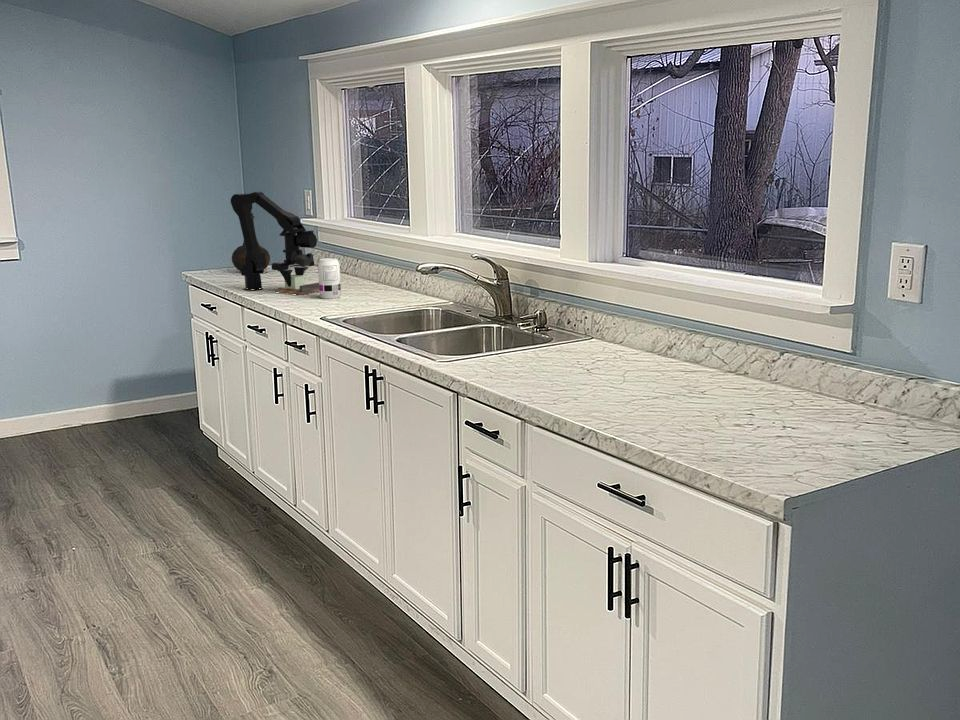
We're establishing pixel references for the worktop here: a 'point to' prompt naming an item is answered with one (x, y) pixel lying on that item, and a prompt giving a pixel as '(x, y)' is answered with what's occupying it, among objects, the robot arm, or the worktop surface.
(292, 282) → the block
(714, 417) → the worktop surface
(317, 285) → the channel board
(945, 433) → the worktop surface
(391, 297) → the worktop surface
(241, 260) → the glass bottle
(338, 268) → the supplement can
